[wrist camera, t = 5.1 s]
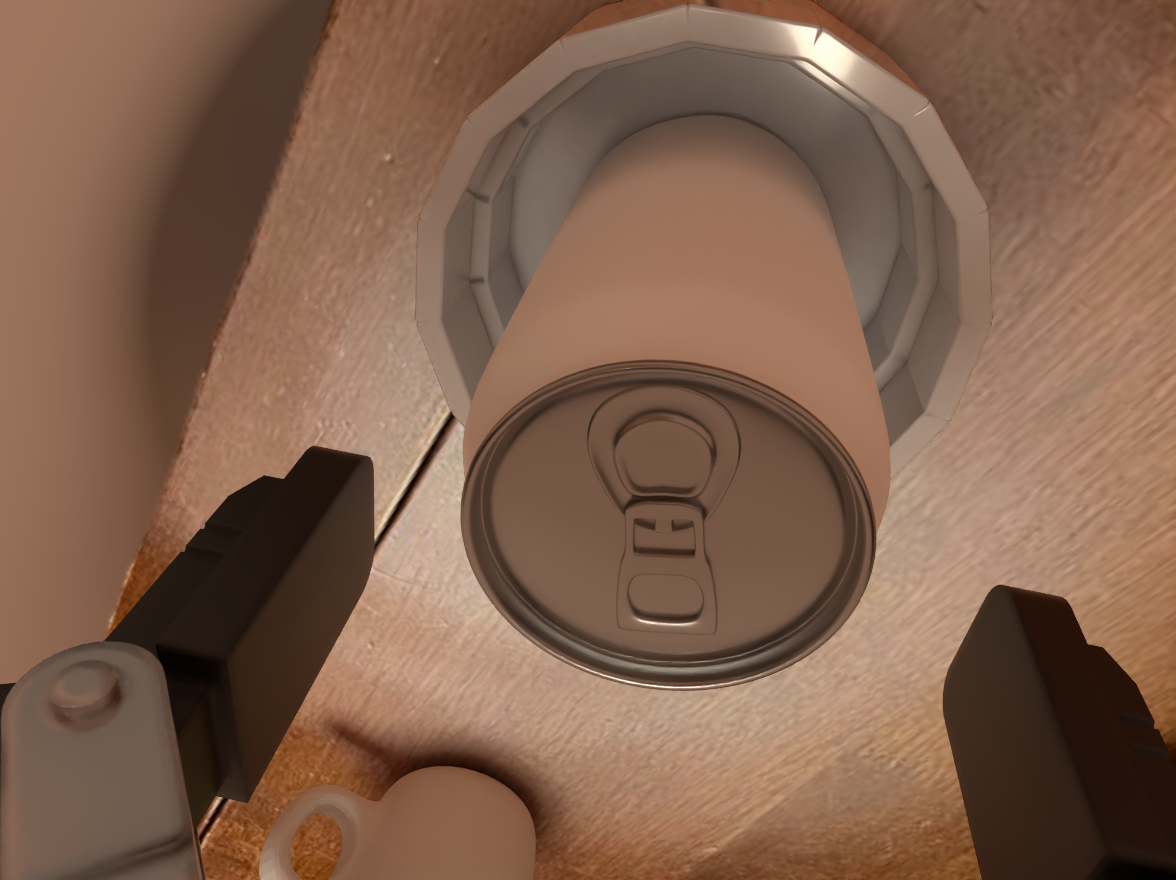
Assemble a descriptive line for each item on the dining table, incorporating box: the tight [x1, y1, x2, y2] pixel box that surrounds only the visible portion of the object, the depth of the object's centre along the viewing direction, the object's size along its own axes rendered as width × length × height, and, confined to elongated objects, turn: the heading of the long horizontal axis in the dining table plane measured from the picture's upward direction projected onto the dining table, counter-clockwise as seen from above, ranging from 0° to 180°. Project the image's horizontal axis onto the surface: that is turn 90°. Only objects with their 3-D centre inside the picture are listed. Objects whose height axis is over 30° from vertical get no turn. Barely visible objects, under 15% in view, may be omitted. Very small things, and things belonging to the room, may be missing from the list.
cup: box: [259, 766, 536, 880], centre depth 33 cm, size 11×8×8 cm
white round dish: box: [415, 0, 993, 481], centre depth 20 cm, size 12×12×5 cm
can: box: [461, 115, 891, 691], centre depth 17 cm, size 6×6×12 cm
